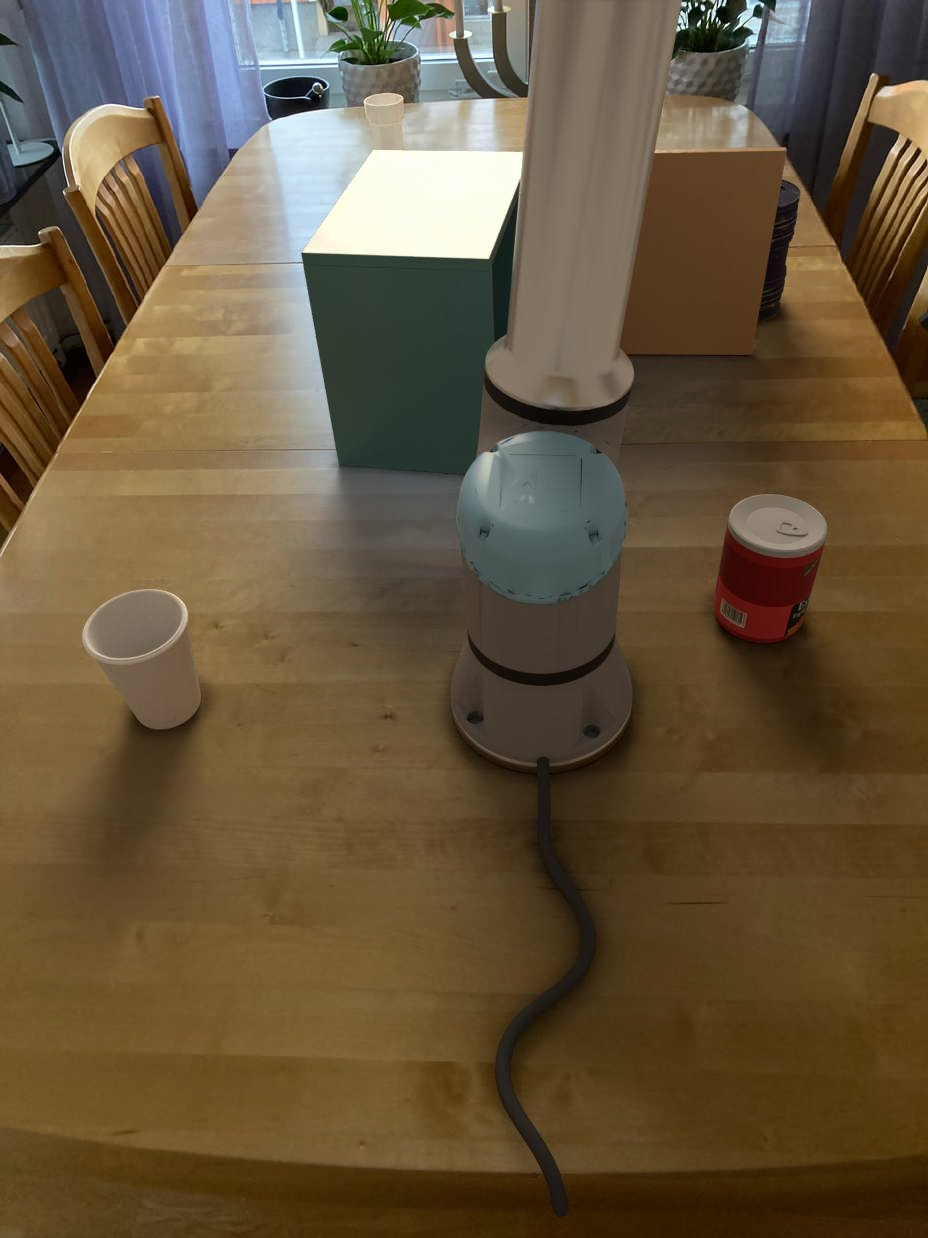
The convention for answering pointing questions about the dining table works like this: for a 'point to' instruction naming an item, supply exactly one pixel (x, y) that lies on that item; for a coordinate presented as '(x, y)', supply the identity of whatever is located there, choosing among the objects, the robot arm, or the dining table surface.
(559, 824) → the dining table surface
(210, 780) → the dining table surface
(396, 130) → the cup
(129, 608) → the dixie cup
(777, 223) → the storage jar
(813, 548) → the canned food
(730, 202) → the fridge door
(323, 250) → the box
